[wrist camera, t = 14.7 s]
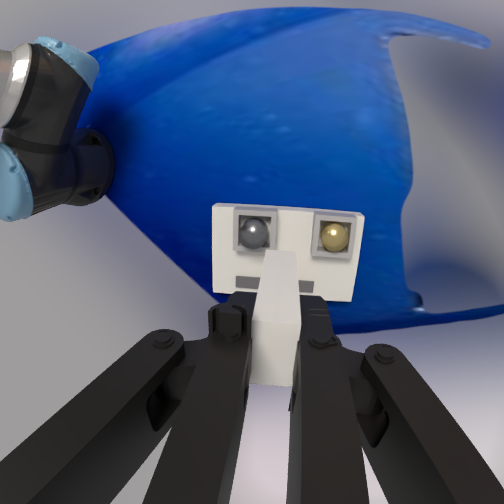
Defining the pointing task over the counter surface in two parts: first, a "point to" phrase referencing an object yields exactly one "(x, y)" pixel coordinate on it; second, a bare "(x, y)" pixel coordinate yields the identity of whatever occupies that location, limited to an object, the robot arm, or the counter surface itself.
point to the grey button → (253, 233)
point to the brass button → (334, 236)
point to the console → (285, 249)
